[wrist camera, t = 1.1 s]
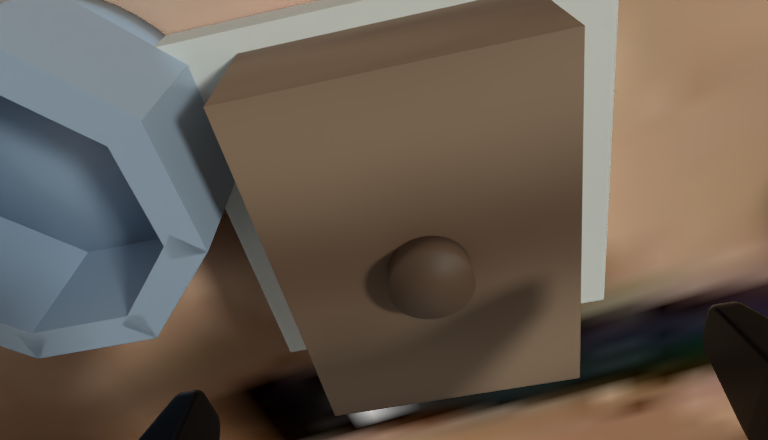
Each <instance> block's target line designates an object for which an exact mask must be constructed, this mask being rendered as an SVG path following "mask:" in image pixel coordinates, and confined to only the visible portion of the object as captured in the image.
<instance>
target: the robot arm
mask: <svg viewBox="0 0 768 440" xmlns="http://www.w3.org/2000/svg"><path fill="white" fill-rule="evenodd" d="M703 346H704V349H705V352H706V354H707V356H708V358H709V360H710V362H711V364H712V366H713V369H714V371H715V373H716V375H717V377H718V379H719V381H720V383H721V385H722V387H723V389H724V392H725V394H726V396H727V398H728V400H729V402H730V404H731V406H732V408H733V410H734V412H735V414H736V417H737V419H738V421H739V423H740V425H741V427H742V429H743V431H744V432H745V434H746V436H747V438H748V440H768V318H767V317H765V316H763V315H762V314H760V313H758V312H756V311H754V310H753V309H751V308H749V307H747V306H745V305H743V304H741V303H738V302H728V303H722V304H716V305H712V306H711V307H710V308H709V310H708V314H707V319H706V324H705V328H704V333H703ZM219 438H220V420H219V417H218V414H217V413H216V411H215V409H214V408H213V406H212V405H211V403H210V402H209V400H208V398H207V397H206V395H205V394H204V393H203V392H202V391H200V390H193V391H187V392H182V393H179V394H178V395H176V396H175V397H174V398H173V399H172V401H171V402H170V403H169V404H168V405H167V407H166V408H165V409H164V410H163V411H162V413H161V414H160V415H159V416H158V417H157V418H156V420H155V421H154V422H153V423H152V424H151V426H150V427H149V428H148V429H147V430H146V432H145V433H144V434H143V435H142V436H141V437H140V439H139V440H219Z"/></svg>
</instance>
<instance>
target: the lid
mask: <svg viewBox="0 0 768 440" xmlns="http://www.w3.org/2000/svg"><path fill="white" fill-rule="evenodd" d="M584 52H585V25H584V24H582V23H581V22H580V21H578V20H577V19H576V18H574V17H573V16H572V15H570V14H569V13H568V12H566V11H565V10H564V9H562V8H561V7H560V6H558V5H557V4H556V3H554V2H553V1H552V0H477V1H472V2H468V3H463V4H459V5H454V6H449V7H445V8H440V9H436V10H431V11H427V12H422V13H418V14H413V15H409V16H404V17H400V18H395V19H391V20H386V21H382V22H377V23H373V24H368V25H364V26H359V27H355V28H350V29H346V30H341V31H337V32H332V33H328V34H323V35H319V36H314V37H310V38H305V39H301V40H296V41H292V42H287V43H283V44H278V45H274V46H269V47H265V48H260V49H256V50H251V51H247V52H242V53H238V54H237V55H236V56H235V58H234V60H233V61H232V63H231V64H230V66H229V67H228V69H227V71H226V72H225V74H224V75H223V77H222V78H221V80H220V82H219V83H218V85H217V86H216V88H215V89H214V91H213V93H212V94H211V96H210V97H209V99H208V101H207V102H206V104H205V105H204V107H203V108H204V110H205V112H206V115H207V117H208V119H209V122H210V124H211V126H212V129H213V131H214V133H215V136H216V138H217V140H218V143H219V145H220V147H221V150H222V152H223V154H224V157H225V159H226V161H227V164H228V166H229V168H230V171H231V173H232V175H233V178H234V180H235V182H236V185H237V187H238V189H239V192H240V194H241V196H242V199H243V201H244V203H245V206H246V208H247V211H248V213H249V215H250V218H251V220H252V222H253V225H254V227H255V229H256V232H257V234H258V236H259V239H260V241H261V243H262V246H263V248H264V250H265V253H266V255H267V257H268V260H269V262H270V264H271V267H272V269H273V271H274V274H275V276H276V278H277V281H278V283H279V285H280V288H281V290H282V292H283V295H284V297H285V299H286V302H287V304H288V306H289V309H290V311H291V313H292V316H293V318H294V320H295V323H296V325H297V327H298V330H299V332H300V335H301V337H302V339H303V342H304V344H305V346H306V349H307V351H308V353H309V356H310V358H311V360H312V363H313V365H314V367H315V370H316V372H317V374H318V377H319V379H320V381H321V384H322V386H323V388H324V391H325V393H326V395H327V398H328V400H329V402H330V405H331V407H332V409H333V412H334V414H335V416H338V415H345V414H351V413H357V412H364V411H370V410H376V409H383V408H389V407H396V406H402V405H408V404H415V403H421V402H428V401H434V400H440V399H447V398H453V397H459V396H466V395H472V394H479V393H485V392H491V391H498V390H504V389H511V388H517V387H523V386H530V385H536V384H542V383H549V382H555V381H562V380H568V379H574V378H580V325H581V257H582V189H583V120H584Z"/></svg>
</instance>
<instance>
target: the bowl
mask: <svg viewBox="0 0 768 440" xmlns="http://www.w3.org/2000/svg"><path fill="white" fill-rule="evenodd" d="M165 36H166V35H164V34H163V33H162V32H161V31H159V30H158V29H157V28H156V27H154V26H152V25H151V24H149V23H148V22H146V21H145V20H143V19H142V18H140V17H138V16H137V15H135V14H133V13H131V12H129V11H127V10H125V9H123V8H121V7H119V6H117V5H115V4H112V3H109V2H107V1H104V0H0V346H1V347H4V348H7V349H10V350H13V351H16V352H19V353H22V354H26V355H29V356H32V357H35V358H38V359H40V358H46V357H51V356H57V355H63V354H68V353H74V352H80V351H86V350H91V349H97V348H103V347H108V346H114V345H120V344H126V343H131V342H137V341H143V340H148V339H154V338H157V337H158V335H159V333H160V332H161V330H162V328H163V327H164V325H165V323H166V322H167V320H168V318H169V317H170V315H171V313H172V311H173V310H174V308H175V306H176V305H177V303H178V301H179V300H180V298H181V296H182V295H183V293H184V291H185V290H186V288H187V286H188V284H189V283H190V281H191V279H192V278H193V276H194V274H195V273H196V271H197V269H198V268H199V266H200V264H201V262H202V261H203V259H204V257H205V256H206V254H207V253H208V251H209V248H210V245H211V243H212V240H213V238H214V235H215V233H216V230H217V227H218V225H219V222H220V220H221V217H222V215H223V212H224V210H225V207H226V204H227V202H228V199H229V197H230V194H231V192H232V189H233V186H234V184H235V180H234V178H233V175H232V173H231V171H230V168H229V166H228V164H227V161H226V159H225V157H224V154H223V152H222V150H221V147H220V145H219V143H218V140H217V138H216V136H215V133H214V131H213V129H212V126H211V124H210V122H209V119H208V117H207V115H206V112H205V110H204V108H203V107H204V105H205V104H204V102H203V100H202V97H201V95H200V92H199V90H198V88H197V85H196V83H195V81H194V78H193V76H192V74H191V71H190V69H189V67H188V65H187V64H185V63H183V62H182V61H180V60H178V59H176V58H175V57H173V56H171V55H169V54H167V53H166V52H164V51H162V50H160V49H158V48H157V47H155V45H156V44H157V43H158V42H159V41H160V40H161V39H162V38H164V37H165Z"/></svg>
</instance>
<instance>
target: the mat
mask: <svg viewBox="0 0 768 440" xmlns="http://www.w3.org/2000/svg"><path fill="white" fill-rule="evenodd" d="M472 1H477V0H318V1H314V2H310V3H305V4H301V5H296V6H292V7H288V8H283V9H279V10H274V11H270V12H266V13H261V14H257V15H253V16H248V17H244V18H239V19H235V20H231V21H226V22H222V23H217V24H213V25H209V26H204V27H200V28H195V29H191V30H187V31H182V32H178V33H173V34H169V35H166V36H165V37H164V38H162V39H161V40H160V41H159V42H158V43H157V44H156V45H155V47H157V48H158V49H160V50H162V51H164V52H166V53H167V54H169V55H171V56H173V57H175V58H176V59H178V60H180V61H182V62H183V63H185V64H187V65H188V67H189V69H190V71H191V74H192V76H193V78H194V81H195V83H196V85H197V88H198V90H199V92H200V95H201V97H202V100H203V102H204V104H206V102H207V101H208V99H209V97H210V96H211V94H212V93H213V91H214V89H215V88H216V86H217V85H218V83H219V82H220V80H221V78H222V77H223V75H224V74H225V72H226V71H227V69H228V67H229V66H230V64H231V63H232V61H233V60H234V58H235V56H236V55H237V54H238V53H242V52H247V51H251V50H256V49H260V48H265V47H269V46H274V45H278V44H283V43H287V42H292V41H296V40H301V39H305V38H310V37H314V36H319V35H323V34H328V33H332V32H337V31H341V30H346V29H350V28H355V27H359V26H364V25H368V24H373V23H377V22H382V21H386V20H391V19H395V18H400V17H404V16H409V15H413V14H418V13H422V12H427V11H431V10H436V9H440V8H445V7H449V6H454V5H459V4H463V3H468V2H472ZM552 1H553V2H554V3H556V4H557V5H558V6H560V7H561V8H562V9H564V10H565V11H566V12H568V13H569V14H570V15H572V16H573V17H574V18H576V19H577V20H578V21H580V22H581V23H582V24H584V25H585V52H584V120H583V189H582V257H581V303H586V302H592V301H598V300H603V299H604V286H605V266H606V245H607V225H608V205H609V184H610V164H611V143H612V123H613V103H614V82H615V62H616V41H617V21H618V1H619V0H552ZM225 209H226V212H227V214H228V216H229V218H230V220H231V222H232V225H233V227H234V229H235V231H236V233H237V236H238V238H239V240H240V242H241V244H242V247H243V249H244V251H245V253H246V255H247V258H248V260H249V262H250V264H251V266H252V269H253V271H254V273H255V275H256V277H257V280H258V282H259V284H260V286H261V288H262V291H263V293H264V295H265V297H266V299H267V301H268V304H269V306H270V308H271V310H272V312H273V315H274V317H275V319H276V321H277V323H278V326H279V328H280V330H281V332H282V334H283V337H284V339H285V341H286V343H287V345H288V348H289V350H290V352H295V351H301V350H307V349H306V346H305V344H304V342H303V339H302V337H301V335H300V332H299V330H298V327H297V325H296V323H295V320H294V318H293V316H292V313H291V311H290V309H289V306H288V304H287V302H286V299H285V297H284V295H283V292H282V290H281V288H280V285H279V283H278V281H277V278H276V276H275V274H274V271H273V269H272V267H271V264H270V262H269V260H268V257H267V255H266V253H265V250H264V248H263V246H262V243H261V241H260V239H259V236H258V234H257V232H256V229H255V227H254V225H253V222H252V220H251V218H250V215H249V213H248V211H247V208H246V206H245V203H244V201H243V199H242V196H241V194H240V192H239V189H238V187H237V185H236V182H235V184H234V186H233V189H232V192H231V194H230V197H229V199H228V202H227V204H226V207H225Z"/></svg>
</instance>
